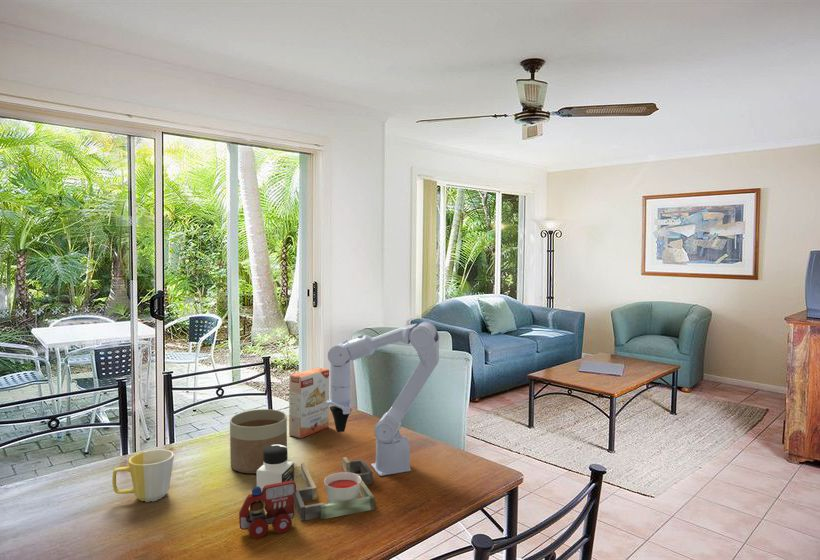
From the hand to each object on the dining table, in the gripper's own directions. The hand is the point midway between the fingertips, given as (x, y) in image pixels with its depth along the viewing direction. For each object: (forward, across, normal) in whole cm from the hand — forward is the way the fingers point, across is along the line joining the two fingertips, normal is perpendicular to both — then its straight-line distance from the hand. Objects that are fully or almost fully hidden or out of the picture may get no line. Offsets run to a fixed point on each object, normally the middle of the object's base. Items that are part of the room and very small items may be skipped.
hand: (340, 431), depth 153 cm
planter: (+10, -9, -22) cm, 26 cm away
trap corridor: (+10, +16, -6) cm, 19 cm away
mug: (+10, +2, -51) cm, 52 cm away
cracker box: (+10, -30, -3) cm, 32 cm away
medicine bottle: (+10, +11, -20) cm, 25 cm away
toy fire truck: (+10, +28, -24) cm, 38 cm away
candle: (+10, +24, -6) cm, 26 cm away
